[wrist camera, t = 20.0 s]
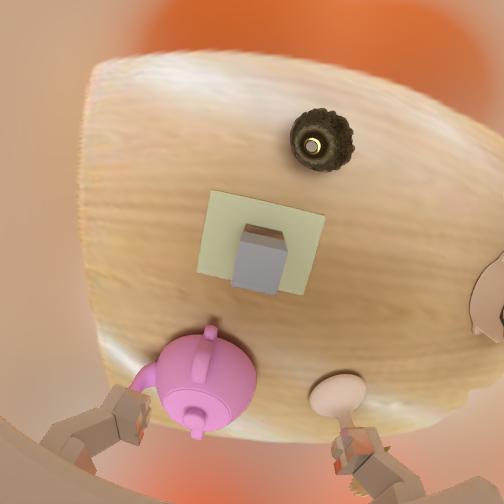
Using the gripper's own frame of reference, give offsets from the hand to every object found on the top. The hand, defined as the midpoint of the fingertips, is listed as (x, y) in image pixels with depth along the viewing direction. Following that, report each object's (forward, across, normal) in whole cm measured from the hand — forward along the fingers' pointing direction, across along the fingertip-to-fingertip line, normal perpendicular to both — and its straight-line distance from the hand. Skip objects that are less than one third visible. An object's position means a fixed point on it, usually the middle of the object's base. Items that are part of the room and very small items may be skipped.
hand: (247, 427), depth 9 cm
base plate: (+31, 0, 0) cm, 31 cm away
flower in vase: (+31, -22, +25) cm, 46 cm away
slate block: (+25, 0, 0) cm, 25 cm away
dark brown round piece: (+31, -4, -15) cm, 35 cm away
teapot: (+31, +6, +24) cm, 40 cm away
